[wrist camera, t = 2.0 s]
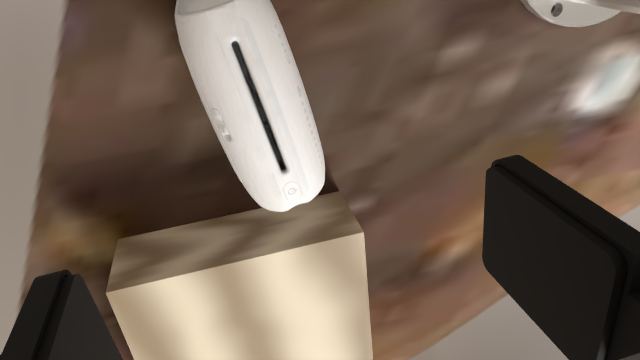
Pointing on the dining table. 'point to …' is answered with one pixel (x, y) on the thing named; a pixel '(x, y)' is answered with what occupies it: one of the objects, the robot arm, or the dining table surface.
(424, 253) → the dining table surface
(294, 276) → the birch block
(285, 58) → the photo printer
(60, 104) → the dining table surface
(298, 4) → the dining table surface
